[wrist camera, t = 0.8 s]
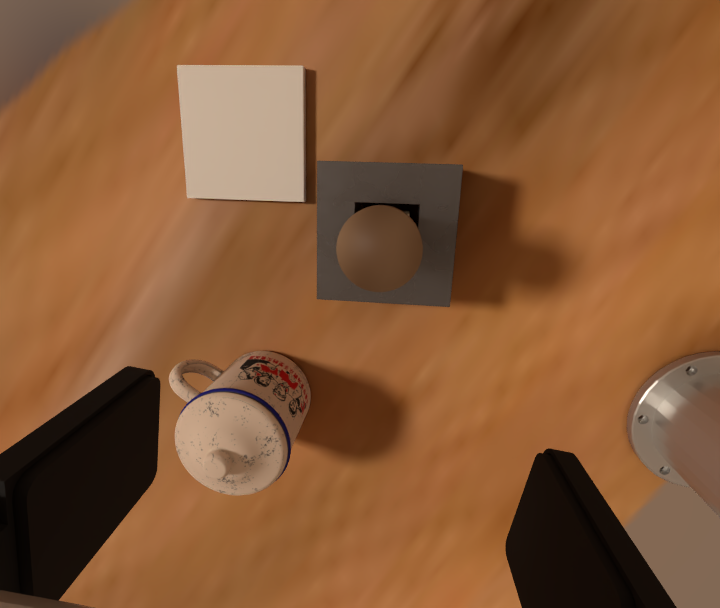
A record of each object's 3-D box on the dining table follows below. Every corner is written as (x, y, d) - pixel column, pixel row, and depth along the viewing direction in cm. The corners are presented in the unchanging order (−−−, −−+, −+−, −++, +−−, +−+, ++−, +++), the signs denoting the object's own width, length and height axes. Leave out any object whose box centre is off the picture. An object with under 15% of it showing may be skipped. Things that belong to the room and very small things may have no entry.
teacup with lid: (333, 386, 39) (303, 465, 28) (279, 449, 42) (233, 544, 31) (229, 308, 38) (156, 358, 27) (181, 377, 41) (96, 449, 30)
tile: (305, 68, 32) (303, 65, 32) (306, 201, 35) (303, 202, 34) (182, 67, 33) (176, 65, 32) (191, 197, 36) (187, 197, 35)
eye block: (454, 168, 33) (463, 164, 28) (444, 290, 36) (449, 306, 31) (330, 164, 34) (317, 160, 29) (328, 284, 37) (316, 299, 32)
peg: (419, 200, 34) (425, 207, 22) (415, 259, 35) (419, 294, 24) (360, 198, 34) (337, 204, 23) (359, 256, 36) (335, 289, 24)
